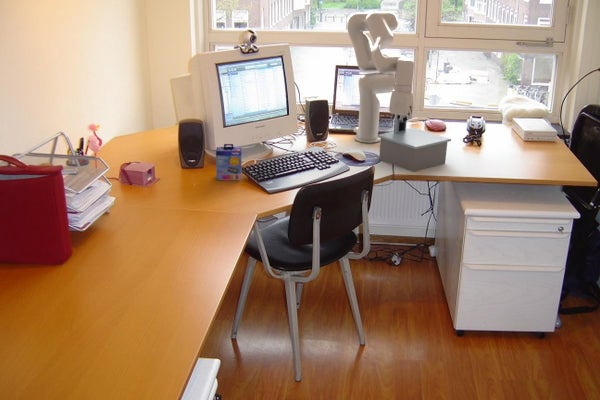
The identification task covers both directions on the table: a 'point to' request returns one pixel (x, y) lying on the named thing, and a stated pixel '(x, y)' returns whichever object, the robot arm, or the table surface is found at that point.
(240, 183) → the table surface
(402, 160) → the tub
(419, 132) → the lid
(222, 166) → the ink cartridge box
